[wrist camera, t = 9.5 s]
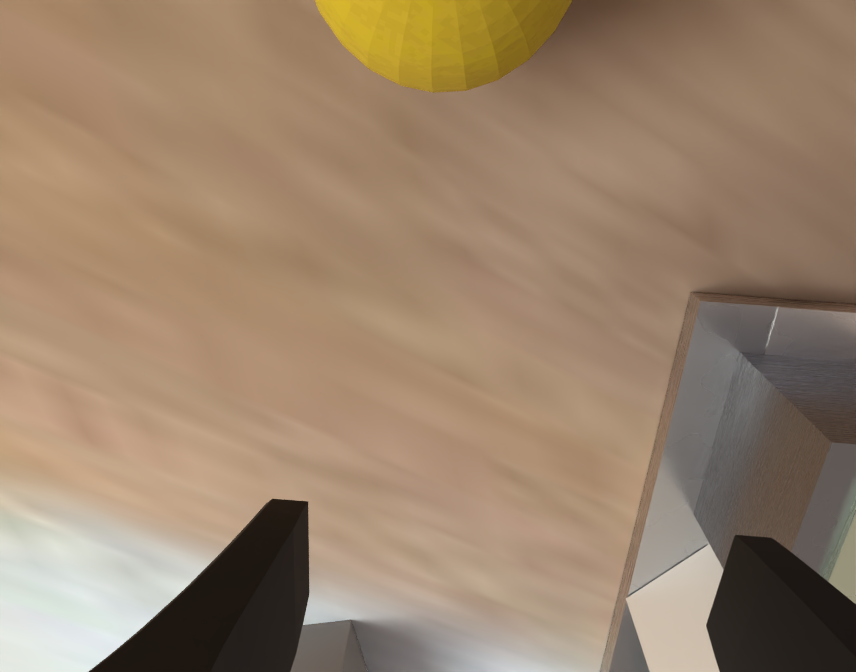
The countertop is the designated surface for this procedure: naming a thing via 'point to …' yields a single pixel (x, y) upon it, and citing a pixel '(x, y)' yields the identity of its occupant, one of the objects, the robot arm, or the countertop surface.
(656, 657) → the block
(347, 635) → the relay block
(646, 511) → the rail
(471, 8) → the lemon
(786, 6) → the countertop surface
